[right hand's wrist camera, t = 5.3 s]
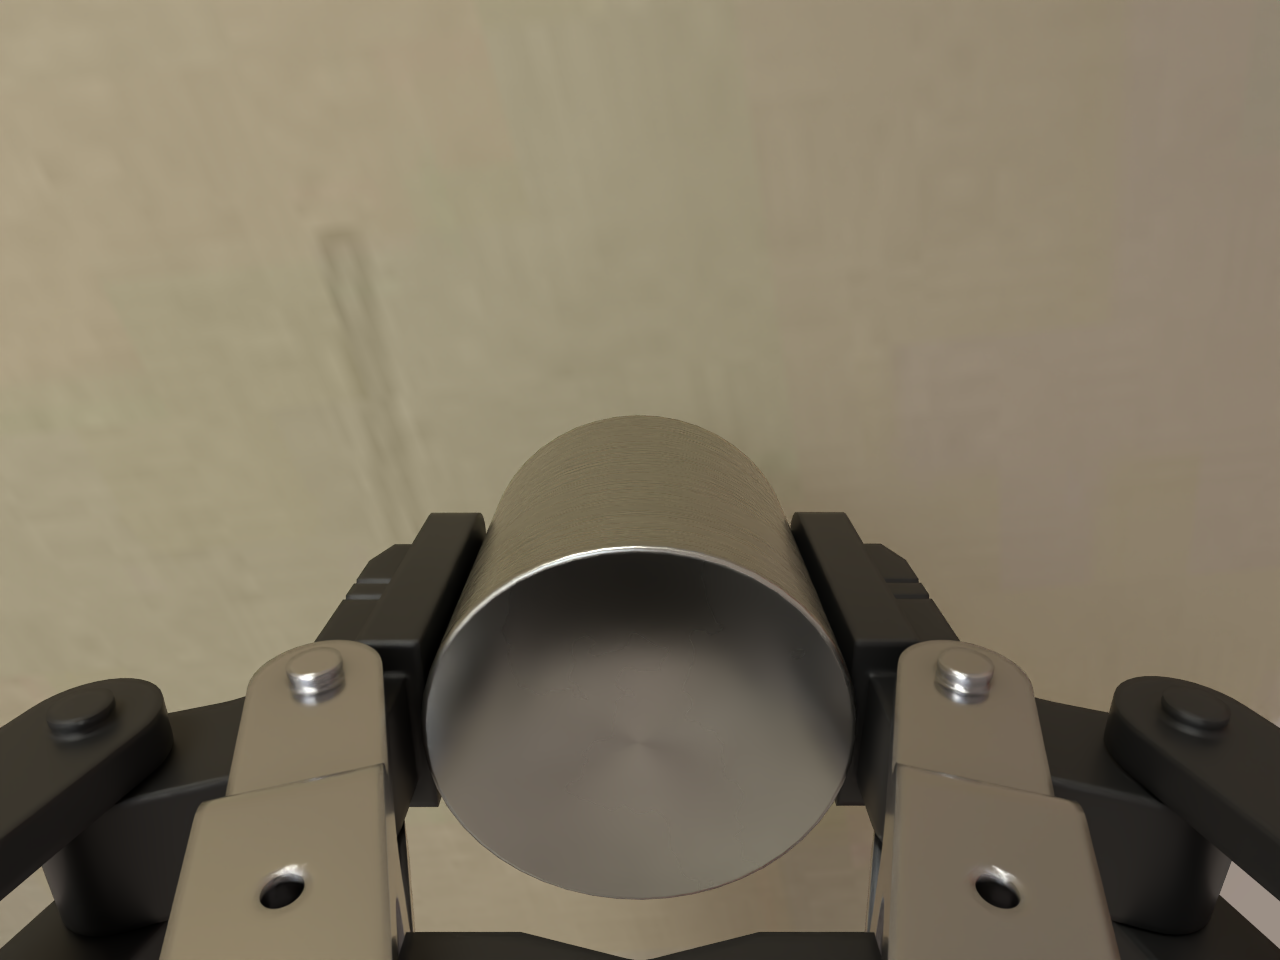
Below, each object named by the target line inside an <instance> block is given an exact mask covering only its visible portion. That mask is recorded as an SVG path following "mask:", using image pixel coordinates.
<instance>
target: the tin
mask: <svg viewBox="0 0 1280 960" xmlns="http://www.w3.org/2000/svg"><path fill="white" fill-rule="evenodd" d="M421 727H422V741H423V746H424V750H425V754H426V759H427V763H428V767H429V769H430V772H431V775H432V777H433V780H434V782H435V785H436V787H437V789H438V791H439V793H440V794H441V796H442V798H443V799H444V801H445V803H446V805H447V806H448V808H449V809H450V811H451V812H452V813H453V815H454V816H455V817H456V818H457V820H458V821H459V822H460V824H461V825H462V826H463V827H464V828H465V829H466V830H467V831H468V832H469V833H470V834H471V835H472V836H473V837H474V838H475V839H476V840H477V841H478V842H479V843H480V844H481V845H483V846H484V847H485V848H487V849H488V850H489V851H490V852H492V853H493V854H494V855H496V856H497V857H498V858H500V859H501V860H503V861H505V862H506V863H508V864H510V865H511V866H513V867H515V868H516V869H518V870H520V871H522V872H524V873H526V874H528V875H530V876H532V877H534V878H537V879H539V880H541V881H543V882H546V883H549V884H552V885H555V886H558V887H561V888H564V889H567V890H571V891H575V892H579V893H584V894H588V895H593V896H601V897H608V898H616V899H640V900H643V899H660V898H671V897H678V896H684V895H690V894H695V893H699V892H703V891H707V890H711V889H714V888H718V887H721V886H724V885H726V884H729V883H732V882H734V881H737V880H740V879H742V878H744V877H746V876H748V875H750V874H752V873H754V872H756V871H758V870H760V869H762V868H764V867H766V866H767V865H769V864H770V863H772V862H773V861H775V860H777V859H778V858H780V857H781V856H783V855H784V854H785V853H787V852H788V851H789V850H790V849H792V848H793V847H794V846H795V845H796V844H798V843H799V842H800V841H801V840H803V839H804V837H805V836H806V835H807V834H808V833H809V832H810V831H811V830H812V829H813V828H814V827H815V826H816V825H817V824H818V823H819V822H820V820H821V819H822V817H823V816H824V815H825V813H826V812H827V811H828V809H829V808H830V806H831V805H832V804H833V802H834V800H835V798H836V796H837V794H838V792H839V791H840V789H841V787H842V785H843V783H844V780H845V778H846V775H847V772H848V769H849V766H850V763H851V760H852V756H853V750H854V745H855V740H856V729H857V709H856V702H855V695H854V688H853V685H852V682H851V678H850V675H849V672H848V669H847V665H846V663H845V661H844V658H843V656H842V653H841V651H840V648H839V646H838V644H837V641H836V639H835V636H834V634H833V631H832V629H831V627H830V624H829V622H828V619H827V617H826V614H825V612H824V610H823V607H822V605H821V602H820V600H819V597H818V595H817V593H816V590H815V588H814V585H813V583H812V580H811V578H810V576H809V573H808V571H807V568H806V566H805V563H804V561H803V559H802V556H801V554H800V551H799V549H798V546H797V544H796V542H795V539H794V537H793V534H792V532H791V529H790V527H789V525H788V522H787V520H786V517H785V515H784V512H783V510H782V508H781V505H780V503H779V501H778V499H777V497H776V495H775V493H774V491H773V489H772V487H771V485H770V484H769V482H768V481H767V479H766V478H765V476H764V475H763V474H762V472H761V471H760V470H759V469H758V468H757V467H756V465H755V464H754V463H753V462H752V461H751V460H750V459H749V458H748V457H747V456H746V455H745V454H743V453H742V452H741V451H740V450H739V449H737V448H736V447H735V446H734V445H732V444H731V443H729V442H728V441H726V440H724V439H723V438H721V437H720V436H718V435H716V434H714V433H712V432H710V431H708V430H705V429H703V428H701V427H699V426H696V425H693V424H690V423H686V422H683V421H680V420H676V419H670V418H664V417H658V416H640V415H635V416H622V417H613V418H609V419H604V420H599V421H595V422H592V423H589V424H586V425H583V426H580V427H577V428H575V429H573V430H571V431H569V432H567V433H565V434H563V435H561V436H559V437H557V438H556V439H554V440H553V441H551V442H550V443H548V444H547V445H545V446H544V447H542V448H541V449H540V450H539V451H537V452H536V453H535V454H534V455H533V456H532V457H531V458H530V459H528V460H527V461H526V463H525V464H524V465H523V466H522V467H521V468H520V470H519V471H518V472H517V473H516V474H515V475H514V477H513V479H512V480H511V482H510V483H509V485H508V487H507V488H506V490H505V491H504V494H503V496H502V498H501V500H500V503H499V505H498V507H497V509H496V512H495V514H494V517H493V519H492V521H491V524H490V526H489V529H488V531H487V533H486V536H485V538H484V541H483V543H482V545H481V548H480V550H479V553H478V555H477V558H476V560H475V562H474V565H473V567H472V570H471V572H470V574H469V577H468V579H467V582H466V584H465V586H464V589H463V591H462V594H461V596H460V598H459V601H458V603H457V606H456V608H455V610H454V613H453V615H452V618H451V620H450V623H449V625H448V627H447V630H446V632H445V635H444V637H443V639H442V642H441V644H440V647H439V649H438V651H437V654H436V656H435V659H434V661H433V663H432V666H431V668H430V671H429V674H428V678H427V682H426V686H425V689H424V693H423V701H422V712H421Z"/></svg>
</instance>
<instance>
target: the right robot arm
mask: <svg viewBox="0 0 1280 960" xmlns="http://www.w3.org/2000/svg"><path fill="white" fill-rule="evenodd" d="M790 529H791V532H792V534H793V537H794V539H795V542H796V544H797V546H798V549H799V551H800V554H801V556H802V559H803V561H804V563H805V566H806V568H807V571H808V573H809V576H810V578H811V580H812V583H813V585H814V588H815V590H816V593H817V595H818V597H819V600H820V602H821V605H822V607H823V610H824V612H825V614H826V617H827V619H828V622H829V624H830V627H831V629H832V631H833V634H834V636H835V639H836V641H837V644H838V646H839V648H840V651H841V653H842V656H843V658H844V661H845V663H846V665H847V669H848V672H849V675H850V678H851V682H852V685H853V688H854V695H855V702H856V709H857V729H856V740H855V745H854V750H853V756H852V760H851V763H850V766H849V769H848V772H847V775H846V778H845V780H844V783H843V785H842V787H841V789H840V791H839V792H838V794H837V796H836V798H835V803H836V806H866V809H867V812H868V815H869V818H870V821H871V824H872V826H873V829H874V834H873V841H872V848H871V859H870V871H869V884H868V897H867V909H866V922H865V932H757V933H754V934H750V935H746V936H742V937H738V938H734V939H730V940H726V941H722V942H718V943H714V944H710V945H706V946H702V947H698V948H694V949H690V950H686V951H682V952H678V953H674V954H670V955H666V956H662V957H658V958H654V959H648V960H1280V949H1279V948H1278V947H1277V946H1276V945H1275V944H1274V943H1272V942H1271V941H1270V940H1269V939H1268V938H1267V937H1266V936H1265V935H1264V934H1262V933H1261V932H1260V931H1259V930H1258V929H1257V928H1256V927H1255V926H1254V925H1252V924H1251V923H1250V922H1249V921H1248V920H1247V919H1246V918H1245V917H1244V916H1242V915H1241V914H1240V913H1239V912H1238V911H1237V910H1236V909H1235V908H1234V907H1232V906H1231V905H1230V904H1229V903H1228V902H1227V901H1226V900H1225V899H1224V898H1222V897H1221V896H1220V895H1219V894H1220V891H1221V888H1222V886H1223V883H1224V880H1225V877H1226V875H1227V872H1228V869H1229V867H1230V864H1231V861H1233V862H1234V863H1235V864H1237V865H1238V866H1239V867H1240V868H1241V869H1242V870H1244V871H1245V872H1246V873H1247V874H1248V875H1250V876H1251V877H1252V878H1253V879H1254V880H1256V881H1257V882H1258V883H1259V884H1260V885H1261V886H1263V887H1264V888H1265V889H1266V890H1267V891H1269V892H1270V893H1271V894H1272V895H1273V896H1274V897H1276V898H1277V899H1278V900H1279V901H1280V728H1279V727H1277V726H1276V725H1274V724H1273V723H1271V722H1270V721H1268V720H1266V719H1265V718H1263V717H1262V716H1260V715H1259V714H1257V713H1256V712H1254V711H1253V710H1251V709H1249V708H1248V707H1246V706H1245V705H1243V704H1241V703H1240V702H1238V701H1236V700H1235V699H1233V698H1231V697H1229V696H1227V695H1225V694H1223V693H1220V692H1218V691H1216V690H1213V689H1211V688H1208V687H1205V686H1202V685H1199V684H1196V683H1193V682H1189V681H1185V680H1181V679H1175V678H1169V677H1159V676H1144V677H1136V678H1132V679H1129V680H1126V681H1124V682H1123V683H1121V684H1120V685H1119V686H1118V687H1117V688H1116V691H1115V693H1114V696H1113V700H1112V704H1111V708H1110V711H1109V713H1107V712H1102V711H1097V710H1092V709H1087V708H1081V707H1076V706H1071V705H1066V704H1061V703H1056V702H1051V701H1047V700H1043V699H1039V698H1036V697H1034V692H1033V687H1032V684H1031V682H1030V680H1029V678H1028V677H1027V675H1026V674H1025V673H1024V672H1023V671H1022V669H1021V668H1020V667H1018V666H1017V665H1016V664H1015V663H1013V662H1012V661H1010V660H1009V659H1007V658H1006V657H1004V656H1002V655H1000V654H998V653H996V652H994V651H992V650H989V649H987V648H984V647H981V646H978V645H974V644H970V643H966V642H961V641H960V640H959V639H958V637H957V636H956V634H955V633H954V631H953V630H952V628H951V627H950V625H949V624H948V622H947V621H946V619H945V618H944V616H943V615H942V613H941V612H940V610H939V609H938V607H937V606H936V604H935V603H934V601H933V600H932V599H929V594H928V593H927V591H926V590H925V588H924V587H923V585H922V584H921V583H919V582H918V578H917V576H916V575H915V573H914V572H913V570H912V569H911V567H910V566H909V564H908V563H907V561H906V560H905V559H903V558H902V557H900V556H899V555H897V554H896V553H894V552H893V551H891V550H890V549H888V548H886V547H885V546H883V545H882V544H863V542H862V540H861V539H860V537H859V535H858V534H857V532H856V530H855V528H854V527H853V525H852V523H851V522H850V520H849V518H848V517H847V515H846V514H845V513H844V512H795V513H794V515H793V517H792V522H791V528H790ZM485 536H486V529H485V522H484V518H483V516H482V514H481V513H431V514H430V515H429V516H428V518H427V520H426V522H425V523H424V525H423V527H422V528H421V530H420V532H419V533H418V535H417V537H416V538H415V540H414V542H413V543H412V544H395V545H393V546H392V547H390V548H388V549H387V550H385V551H384V552H382V553H381V554H379V555H378V556H376V557H375V558H373V559H372V560H370V561H369V562H368V564H367V565H366V567H365V568H364V570H363V571H362V573H361V574H360V576H359V577H358V579H357V583H356V584H353V586H352V587H351V589H350V590H349V592H348V593H347V595H346V600H343V601H342V602H341V604H340V605H339V606H338V608H337V609H336V611H335V612H334V614H333V615H332V617H331V618H330V620H329V621H328V623H327V624H326V626H325V627H324V629H323V630H322V631H321V633H320V634H319V636H318V637H317V639H316V640H315V642H314V643H310V644H306V645H302V646H299V647H296V648H293V649H291V650H288V651H286V652H284V653H282V654H280V655H278V656H276V657H274V658H273V659H271V660H270V661H268V662H267V663H265V664H264V665H263V666H262V667H260V668H259V669H258V671H257V672H256V673H255V674H254V675H253V677H252V678H251V680H250V682H249V684H248V687H247V692H246V696H245V697H242V698H238V699H235V700H232V701H227V702H223V703H218V704H213V705H208V706H203V707H198V708H193V709H188V710H183V711H178V712H172V713H167V709H166V706H165V702H164V698H163V695H162V692H161V690H160V689H159V688H158V687H157V686H156V685H154V684H153V683H151V682H148V681H145V680H141V679H133V678H118V679H108V680H102V681H97V682H92V683H88V684H85V685H81V686H78V687H75V688H72V689H69V690H66V691H64V692H61V693H59V694H57V695H54V696H52V697H50V698H48V699H46V700H44V701H42V702H41V703H39V704H37V705H36V706H34V707H32V708H31V709H29V710H27V711H26V712H24V713H23V714H21V715H20V716H18V717H17V718H15V719H13V720H12V721H10V722H9V723H7V724H6V725H4V726H3V727H1V728H0V901H1V900H2V899H3V898H4V897H6V896H7V895H8V894H9V893H10V892H11V891H13V890H14V889H15V888H16V887H17V886H19V885H20V884H21V883H22V882H23V881H24V880H26V879H27V878H28V877H29V876H30V875H32V874H33V873H34V872H35V871H36V870H38V869H39V868H40V867H41V866H42V868H43V871H44V873H45V876H46V879H47V881H48V884H49V887H50V889H51V892H52V895H53V897H54V901H53V902H52V903H51V904H50V905H49V906H48V907H46V908H45V909H44V910H43V911H42V912H41V913H40V914H39V915H38V916H36V917H35V918H34V919H33V920H32V921H31V922H30V923H29V924H28V925H26V926H25V927H24V928H23V929H22V930H21V931H20V932H19V933H18V934H16V935H15V936H14V937H13V938H12V939H11V940H10V941H9V942H8V943H6V944H5V945H4V946H3V947H2V948H1V949H0V960H632V959H626V958H622V957H618V956H614V955H610V954H606V953H602V952H598V951H594V950H590V949H586V948H582V947H578V946H574V945H570V944H566V943H562V942H558V941H554V940H550V939H546V938H542V937H538V936H534V935H530V934H526V933H523V932H415V922H414V909H413V897H412V884H411V871H410V859H409V848H408V841H407V834H406V827H405V817H406V814H407V811H408V808H409V807H438V806H439V803H440V800H441V797H442V796H441V794H440V793H439V791H438V789H437V787H436V785H435V782H434V780H433V777H432V775H431V772H430V769H429V767H428V763H427V759H426V754H425V750H424V746H423V741H422V727H421V712H422V701H423V693H424V689H425V686H426V682H427V678H428V674H429V671H430V668H431V666H432V663H433V661H434V659H435V656H436V654H437V651H438V649H439V647H440V644H441V642H442V639H443V637H444V635H445V632H446V630H447V627H448V625H449V623H450V620H451V618H452V615H453V613H454V610H455V608H456V606H457V603H458V601H459V598H460V596H461V594H462V591H463V589H464V586H465V584H466V582H467V579H468V577H469V574H470V572H471V570H472V567H473V565H474V562H475V560H476V558H477V555H478V553H479V550H480V548H481V545H482V543H483V541H484V538H485Z"/></svg>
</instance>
